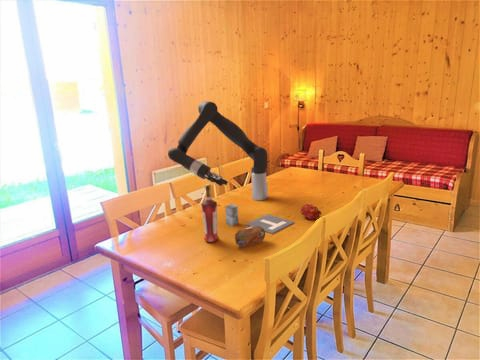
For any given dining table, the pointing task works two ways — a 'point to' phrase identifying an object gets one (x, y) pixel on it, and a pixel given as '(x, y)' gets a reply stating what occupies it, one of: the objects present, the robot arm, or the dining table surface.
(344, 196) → the dining table surface
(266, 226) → the letter board
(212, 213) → the liquor
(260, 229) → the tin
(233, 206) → the grey block
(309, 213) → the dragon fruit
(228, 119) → the robot arm
